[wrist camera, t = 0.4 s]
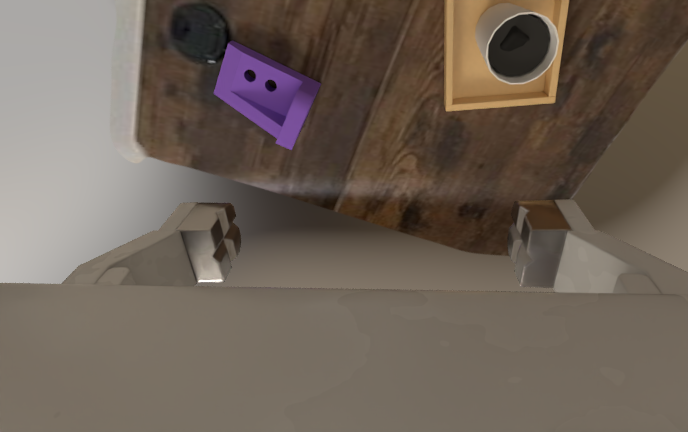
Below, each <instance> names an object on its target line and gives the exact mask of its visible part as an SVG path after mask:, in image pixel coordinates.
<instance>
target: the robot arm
mask: <svg viewBox="0 0 688 432" xmlns="http://www.w3.org/2000/svg"><path fill="white" fill-rule="evenodd" d="M511 216H512V218H513V221H514V224H513V225H512V226H511V227H510V228H509V231H508V252H509V256H510V259H511V261H513V262H514V263H516V265H515V273H516V276H517V279H518V281H519V284H520V287H543V288H554V290H555V291H556V292H506V291H501V292H500V291H443V290H384V289H327V288H326V289H325V288H267V287H265V288H264V287H209V286H207V287H205V286H194V285H196V284H197V282H225V280H226V278H227V276H228V274H229V272H230V270H231V268H232V266H231V261H233V260H234V259H236V258H237V256H238V254H239V252H240V245H241V235H240V231H239V228H238V227H237V226H236V225H235V224H234V223H233V220H234V219H235V217H236V214H235V210H234V206H232V204H231V203H198V202H194V203H181V204H180V205H179V206H178V207H177V208H176V210H175V211H174V212H173V213H172V214H171V216H170V217H169V218H168V219H167V221H166V222H165V223H164V224H163V225H162V227H161V228H160V229H159V230H158V231H152V232H150V233H147V234H145V235H143V236H141V237H139V238H137V239H135V240H132V241H130V242H128V243H126V244H124V245H122V246H120V247H118V248H116V249H114V250H111V251H109V252H107V253H105V254H103V255H101V256H99V257H96V258H94V259H93V260H90V261H88V262H86V263H84V264H82V265H80V266H78V267H77V269H75V270H74V271H73V272H72V273H71V274H70V275H69V276H68V277H67V278H66V280H65V281H64V282H63V283H62V284H30V283H0V432H688V272H686V271H684V270H682V269H680V268H678V267H676V266H674V265H672V264H669V263H667V262H665V261H663V260H661V259H659V258H657V257H655V256H653V255H651V254H648V253H646V252H644V251H642V250H640V249H638V248H636V247H634V246H632V245H630V244H628V243H625V242H623V241H621V240H619V239H617V238H615V237H613V236H611V235H609V234H607V233H605V232H602V231H595V230H594V228H593V227H592V225H591V224H590V222H589V221H588V220H587V218H586V217H585V215H584V214H583V212H582V211H581V210H580V208H579V207H578V205H577V204H576V202H575V201H574V200H571V199H568V200H538V201H515V202H514V204H513V207H512V212H511Z"/></svg>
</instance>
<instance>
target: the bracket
mask: <svg viewBox="0 0 688 432" xmlns="http://www.w3.org/2000/svg"><path fill="white" fill-rule="evenodd" d="M247 70H252V71H254V72H255V74H256V79H254V78H252V77H251V76H250V75H249V74H248V71H247ZM268 80H273V81H275V83H276V85H277V88H273V87H271V86H270V85H269V83H268ZM320 85H321V83H319V82H317V81H315V80H313V79H311V78H309V77H307V76H305V75H302V74H300V73H298V72H296V71H294V70H292V69H290V68H288V67H286V66H284V65H282V64H280V63H278V62H276V61H274V60H272V59H270V58H268V57H266V56H263V55H261V54H259V53H257V52H255V51H253V50H251V49H249V48H247V47H245V46H243V45H241V44H239V43H237V42H235V41H233V40H232V41H230V42H229V43H228V45H227V49H226V52H225V56H224V59H223V63H222V66H221V70H220V73H219V77H218V80H217V84H216V87H215V91H214V94H215V95H216V96H218V97H219V98H221V99H222V100H223V101H225V102H226V103H228V104H229V105H230V106H232V107H233V108H235V109H236V110H237V111H239V112H240V113H242V114H243V115H244V116H246V117H247V118H249V119H250V120H252V121H253V122H254V123H256V124H257V125H259V126H260V127H261V128H263V129H264V130H266V131H267V132H268V133H270V134H271V135H273V136H274V137H275V138H277V141H276V143H277V144H279V145H281V146H283V147H285V148H288V149H290V150H292V148H293V146H294V144H295V142H296V140H297V138H298V136H299V134H300V132H301V130H302V127H303V125H304V123H305V120H306V118H307V116H308V113H309V111H310V109H311V106H312V104H313V102H314V99H315V97H316V95H317V92H318V90H319V88H320Z"/></svg>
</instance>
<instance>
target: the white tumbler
mask: <svg viewBox="0 0 688 432" xmlns="http://www.w3.org/2000/svg"><path fill="white" fill-rule="evenodd" d="M475 39H476V42H477V45H478V48H479V50H480V52H481V54H482V56H483V58H484V60H485V62H486V65H487V67H488V69H489V71H490V72H491V73H492V74H493V75H494V76H495V77H496V78H497V79H498V80H499V81H502V82H505V83H507V84H510V85H511V84H525V83H527V82H530V81H532V80H535V79H537V78H538V77H539V76H541V75H542V74H543V73H544V72H545V71H546V70H547V69H549V67H550V65H551V64H552V62H553V60H554V59H555V57H556V55H557V50H558V45H559V38H558V33H557V29H556V27H555V25H554V24H553V23H552V22H551V21H550V20H549V18H548V17H546V16H544V15H541V14H539V13H536V12H533V11H531V10H528V9H525V8H522V7H520V6H517V5H514V4H511V3H498V4H496V5H494V6H492V7H490V8H488V9H487V10H486V11H485V12H484V13H483V14H482V15H481V16H480V19H479V21H478V23H477V25H476V29H475Z"/></svg>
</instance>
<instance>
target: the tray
mask: <svg viewBox="0 0 688 432" xmlns="http://www.w3.org/2000/svg"><path fill="white" fill-rule="evenodd" d="M498 3H511V4H514V5H517V6H520V7H522V8H525V9H528V10H531V11H533V12H536V13H539V14H541V15H544V16H546V17H548V18H549V20H550V21H551V22H552V23H553V24H554V25H555V27H556V29H557V33H558V38H559V45H558V50H557V55H556V57H555V59H554V60H553V62H552V64H551V65H550V67H549V69H547V70H546V71H545V72H544V73H543V74H542V75H541V76H539V77H538V78H537V79H535V80H532V81H530V82H527V83H525V84H511V85H510V84H507V83H505V82H502V81H499V80H498V79H497V78H496V77H495V76H494V75H493V74H492V73H491V72H490V71H489V69H488V67H487V65H486V62H485V60H484V58H483V56H482V54H481V52H480V50H479V48H478V45H477V42H476V39H475V29H476V25H477V23H478V21H479V19H480V16H481V15H482V14H483V13H484V12H485V11H486V10H487V9H488V8H490V7H492V6H494V5H496V4H498ZM568 5H569V0H444V106H445V110H446V111H458V110H470V109H483V108H496V107H509V106H521V105H534V104H547V103H555V98H556V90H557V83H558V76H559V69H560V62H561V55H562V48H563V41H564V34H565V27H566V20H567V13H568Z"/></svg>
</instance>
